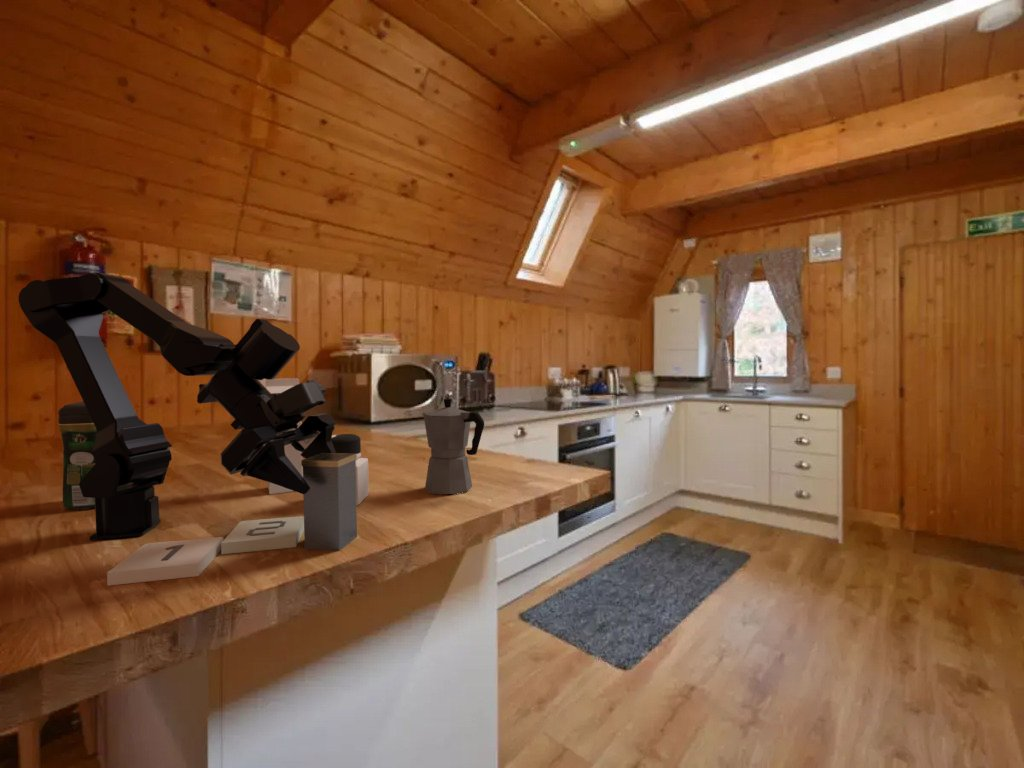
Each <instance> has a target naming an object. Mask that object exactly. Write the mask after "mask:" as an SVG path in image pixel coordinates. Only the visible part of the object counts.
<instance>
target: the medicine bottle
mask: <svg viewBox="0 0 1024 768" xmlns="http://www.w3.org/2000/svg"><path fill="white" fill-rule="evenodd" d="M331 440H332V444H333V446H334V449H335V451H336V453H346V454H356V507H359V505H360V504H361V503H362V502H363V501H364V500H365V499H366V498H367V497H368V496H369V494H370V490H369V487H370V486H369V459H368V458H367V457H362V453H361V451H362V450H361V449H362V448H361V447H362V445H361V437H360V436H359V435H356V434H354V433H342V434H341V433H340V434H339V433H338V434H332V439H331Z"/></svg>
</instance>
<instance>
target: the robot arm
mask: <svg viewBox="0 0 1024 768" xmlns="http://www.w3.org/2000/svg"><path fill="white" fill-rule="evenodd" d="M17 298H18V303H19V307H20V309H21V311H22V313H23V315H25V317H26V318H27V320H28V321H29V323H30V324H31V325H32V327H33V329H35V330H37V332H39V333H41V334H42V335H44V336H45V337H47V338H48V339H49V340H50V341H52V342H54V343H55V345H56V346H57V348H58V351H59V352H60V354H61V357H62V359H63V361H64V363H65V365H66V368H67V370H68V372H69V374H70V376H71V378H72V380H73V382H74V384H75V387H76V388H77V391H78V393H79V395H80V397H81V399H82V402H84V404H85V406H86V408H87V410H88V412H89V414H90V416H91V419H92V421H93V423H94V425H95V427H96V430H97V435H96V439H95V442H94V446H93V450H92V453H93V457H94V460H95V465H94V466H93V468H92V469H91V470H90V471H89V472H88V473H87V474H86V476H85V477H84V478H83V479H82V480H81V481H80V483H79V486H80V489H81V492H82V495H83V497H87V498H95V507H94V509H95V510H94V513H95V532H94V533H93V534H90V535H89V540H90V541H93V540H103V539H104V540H105V539H115V538H116V539H117V538H118V539H119V538H129V537H138V536H139V537H140V536H143V535H144V534H147V533H148V532H149V531H151V530H152V529H153V528H155V527H156V526H157V525H159V524H161V521H162V520H161V518H160V501H159V496H158V495H155V486H157V485H162V484H164V482H165V478H166V475H167V472H168V469H169V467H170V466H169V465H170V463H171V462H170V461H172V452H171V450H170V448H171V447H172V446H173V445H172V444H171V442H169V441H168V439H167V437H166V436H165V435H166V434H165V432H164V429H163V426H162V425H161V424H160V423H158V422H156V423H149V424H147V423H146V422H144V421H143V420H142V419H140V417H139V416H138V415H137V413H136V410H135V408H134V406H133V404H132V403H131V400H130V398H129V396H128V394H127V392H126V389H125V387H124V385H123V383H122V380H121V379H120V377H119V375H118V372H117V370H116V368H115V366H114V364H113V361H112V360H111V357H110V356H109V354H108V351H107V349H106V347H105V346H104V343H103V340H102V339H101V337H100V329H101V327H102V324H103V320H104V315H103V314H105V313H108V312H112V313H113V314H115V315H116V316H118V317H119V318H120V319H121V320H123V321H124V322H125V323H127V324H129V325H130V326H131V327H133V328H135V329H136V330H137V331H139V332H140V333H142V334H143V335H145V336H146V337H147V338H149V339H150V340H151V341H153V342H154V343H155V344H156V345H157V346H158V347H159V350H160V353H161V356H162V357H163V358H164V360H166V362H167V363H168V364H170V366H171V367H172V368H173V369H174V370H176V371H177V373H179V374H180V375H182V376H186V377H187V376H188V377H198V376H199V377H200V376H201V377H202V376H203V377H204V376H212V377H211V378H210V380H209V381H208V382H207V383H200V384H199V385H198V388H199V390H198V393H197V396H196V397H197V398H196V401H197V403H198V404H199V405H200V404H209V403H218V404H220V405H221V406H222V407H223V408H224V410H226V412H227V413H228V414H229V415H230V416H231V417H232V418H233V419H234V420H233V421H232V422H231V423H230V426H231V427H232V428H233V430H240V431H239V432H238V433H237V434H236V436H235V437H234V438H233V439H232V441H230V442H229V443H228V445H227V446H226V447H225V448H224V449H223V450H222V451H221V453H220V463H221V466H222V467H223V468H224V469H225V470H226V471H227V472H228V474H230V475H231V476H232V475H235V474H237V473H240V476H242V477H247V476H248V477H251V478H254V479H258V480H261V481H264V482H267V483H268V482H270V483H273V484H276V485H279V486H282V487H284V488H287V489H290V490H293V492H296V493H299V494H302V495H303V494H306V493H307V492H308V491H309V490H310V487H309V485H308V484H307V482H306V481H305V479H304V478H303V477H302V475H301V474H300V473H299V472H298V470H297V469H296V468H295V467H294V465H293V464H292V463H291V462H290V460H289V459H288V458H287V457H286V455H285V449H284V446H285V445H289V444H291V445H292V446H293V447H294V448H295V449H296V450H298V451H301V452H302V453H301V454H300V455H301V456H302V458H304V459H306V458H309V457H312V456H315V455H318V454H321V453H336V451H335V449H334V446H333V444H332V440H331V439H332V435H333V432H334V431H335V429H336V428H335V425H337V421H336V420H335V419H334V418H333V417H332V416H331V415H330V413H317V414H312V415H308V416H307V418H305V417H306V414H305V412H307V411H309V410H312V409H313V408H315V407H317V406H322V405H325V403H326V402H327V399H326V396H327V395H326V393H327V388H326V387H325V386H322V384H321V382H318V381H316V380H315V379H312V380H311V379H310V380H307V381H305V382H299V384H298V385H295V386H293V387H291V388H290V389H288V390H286V391H284V392H282V393H272V394H271V393H270V392H269V391H268V390H267V389H266V386H264V385H263V384H262V382H260V381H263V380H266V379H269V380H271V379H276V377H277V376H278V375H279V373H281V371H282V370H283V369H284V368H285V367H286V366H287V365H288V363H290V361H291V360H292V359H293V358H294V356H295V355H296V354H297V353H298V352H299V350H300V349H301V346H300V344H299V342H298V340H296V338H295V337H294V336H293V335H292V334H289V333H287V332H286V331H284V330H283V329H281V328H279V327H278V326H275V325H273V324H272V323H271V322H270V321H269V320H268V319H264V318H255V319H254V321H253V322H252V324H251V325H250V327H249V329H248V330H247V332H246V333H244V335H243V336H242V337H241V339H240V340H239V341H238V342H237V343H236V344H234V342H233V341H232V340H231V339H230V338H227V337H226V336H223V335H221V334H219V333H217V332H214V331H212V330H209V329H206V328H203V327H199V326H196V325H194V324H191V323H189V322H187V321H185V320H184V319H182V318H181V317H179V316H178V315H176V314H175V313H173V312H172V311H170V310H169V309H168V308H166V307H164V306H163V305H162V304H160V303H159V302H157V301H156V300H154V299H153V298H152V297H150V296H148V295H147V294H146V293H144V292H142V291H141V290H140V289H139V288H137V287H135V286H134V285H133V284H132V283H131V281H129V280H127V279H126V278H125V277H122V276H118V275H113V274H108V273H104V272H103V273H102V272H92V273H85V274H83V275H79V276H71V277H64V278H63V277H62V278H53V279H46V280H43V279H34V280H32V281H30V282H29V283H28V284H26V285H25V287H23V288H21V290H20V291H19V293H18V297H17ZM304 418H305V419H304ZM301 421H303V422H302V424H301V425H300V426H299V427H298V425H297V423H298V422H301ZM297 427H298V428H297Z"/></svg>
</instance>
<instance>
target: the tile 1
mask: <svg viewBox="0 0 1024 768" xmlns="http://www.w3.org/2000/svg"><path fill="white" fill-rule="evenodd" d="M223 540H224V536H215V537H206V538H196V539H195V538H193V539H184V540H183V539H182V540H172V541H171V540H170V541H160V542H159V541H157V542H149V543H148V542H147V543H144V544H143V545H142V546H140V547H139V548H138V549H136V550H135V551H133V552H132V553H131V554H130V555H128V556H127V557H125V558H124V559H123V560H122V561H121V562H119V563H117V565H115V566H114V567H113V568H111V569H110V570H108V571H107V572H106V578H107V579H106V581H107V587H108V586H118V585H126V584H137V583H138V584H139V583H145V582H146V583H147V582H155V581H164V580H174V579H184V578H185V579H186V578H194V577H199V576H200V575H201V574H202V573H203V572H204V570H205V569H206V568H207V567H208V566H209V565H210V564H211V562H212V561H214V559H215V558H216V557H217V556H218V554H219V553H221V543H222V541H223Z"/></svg>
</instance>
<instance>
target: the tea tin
mask: <svg viewBox="0 0 1024 768" xmlns="http://www.w3.org/2000/svg"><path fill="white" fill-rule="evenodd" d="M301 465H302V466H303V478H304V479H305V481H306V482H307V484H308V485H309V487H310V490H309V491H308V492H307V493H306V494H302V497H303V516H304V532H303V533H304V549H305V550H321V551H322V550H323V551H339V552H340V551H341V550H343V549H344V548H345V547H347V545H349V544H350V543H351V542H352V541H354V540H355V539H357V537H358V522H357V521H358V519H357V518H358V515H357V513H358V512H357V511H358V510H357V506H356V454H346V453H321V454H318V455H315V456H312V457H309V458H304V459H303V460H301Z"/></svg>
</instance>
